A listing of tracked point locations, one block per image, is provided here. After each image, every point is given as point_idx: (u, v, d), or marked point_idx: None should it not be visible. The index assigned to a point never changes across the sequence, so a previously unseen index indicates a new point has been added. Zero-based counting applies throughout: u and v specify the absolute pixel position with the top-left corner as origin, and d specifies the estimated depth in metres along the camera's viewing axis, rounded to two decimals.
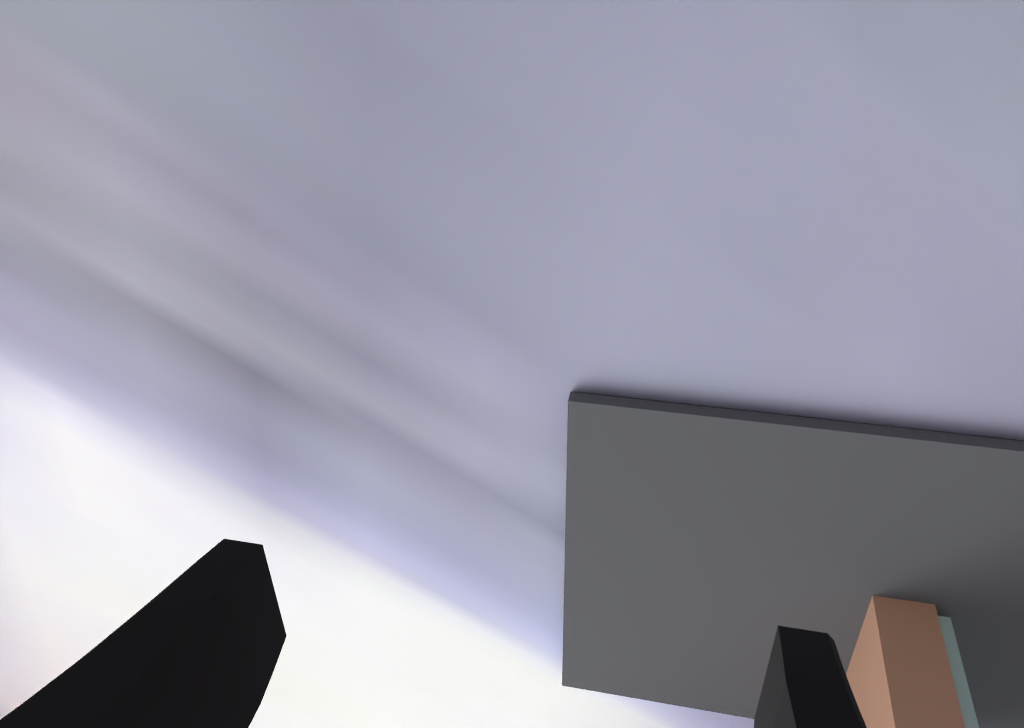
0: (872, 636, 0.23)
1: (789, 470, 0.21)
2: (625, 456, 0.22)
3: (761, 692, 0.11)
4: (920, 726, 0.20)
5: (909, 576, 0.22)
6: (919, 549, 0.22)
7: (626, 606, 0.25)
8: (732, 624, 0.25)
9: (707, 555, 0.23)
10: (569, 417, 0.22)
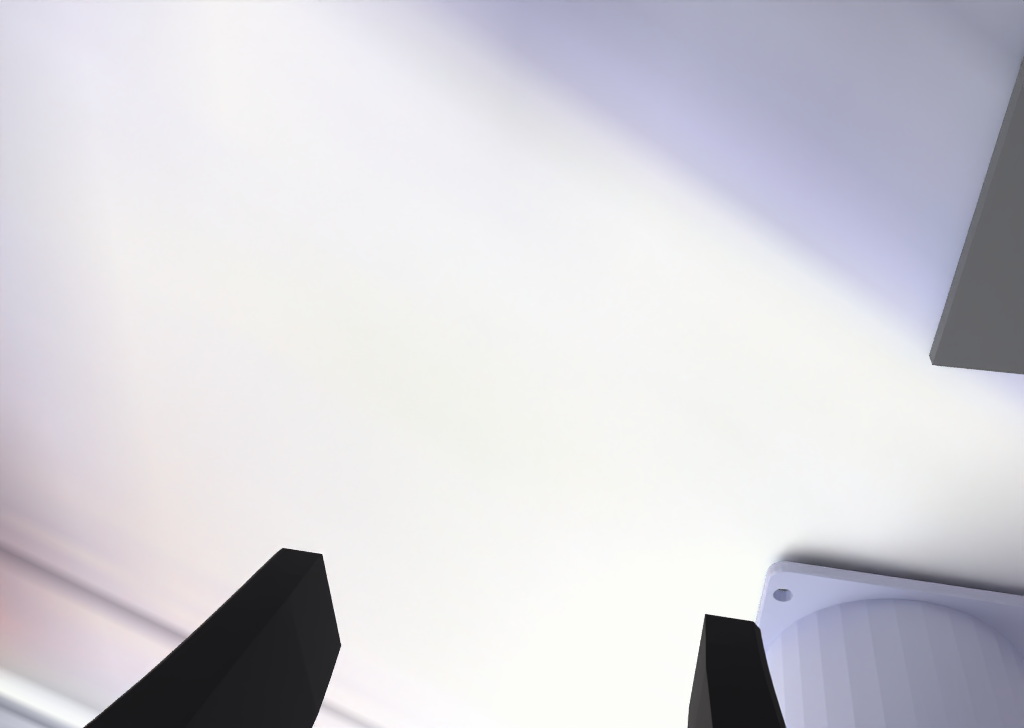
0: None
1: None
2: None
3: None
4: None
5: None
6: None
7: None
8: None
9: None
10: None
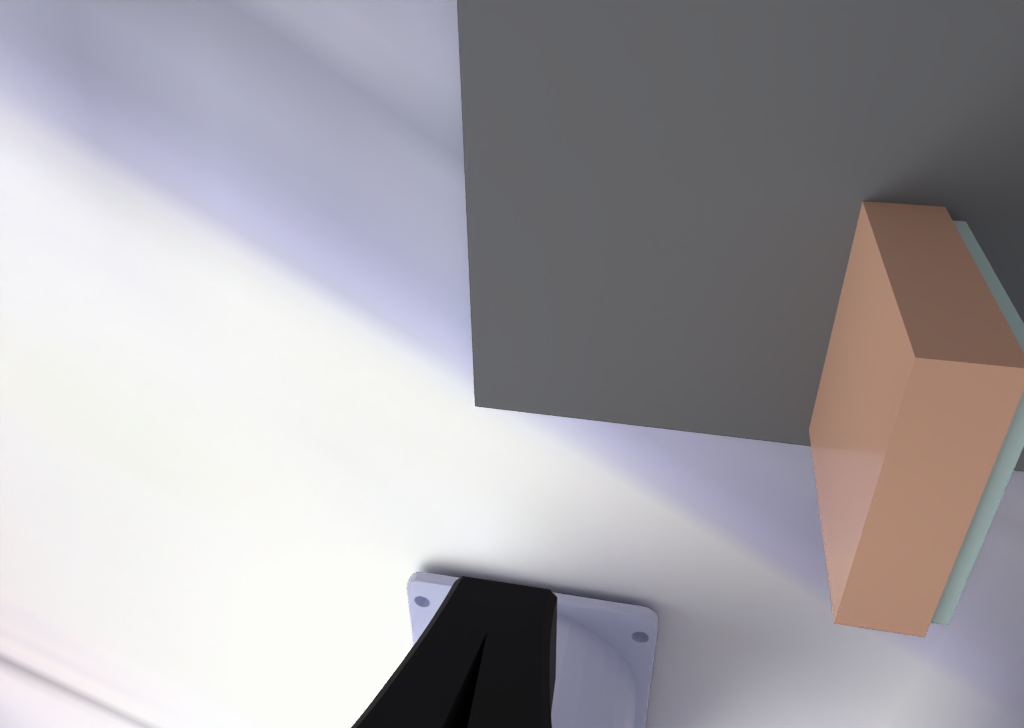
0: (862, 246, 0.17)
1: None
2: None
3: None
4: (928, 291, 0.14)
5: (911, 160, 0.17)
6: (925, 108, 0.16)
7: (547, 262, 0.20)
8: (682, 276, 0.19)
9: (646, 157, 0.18)
10: None
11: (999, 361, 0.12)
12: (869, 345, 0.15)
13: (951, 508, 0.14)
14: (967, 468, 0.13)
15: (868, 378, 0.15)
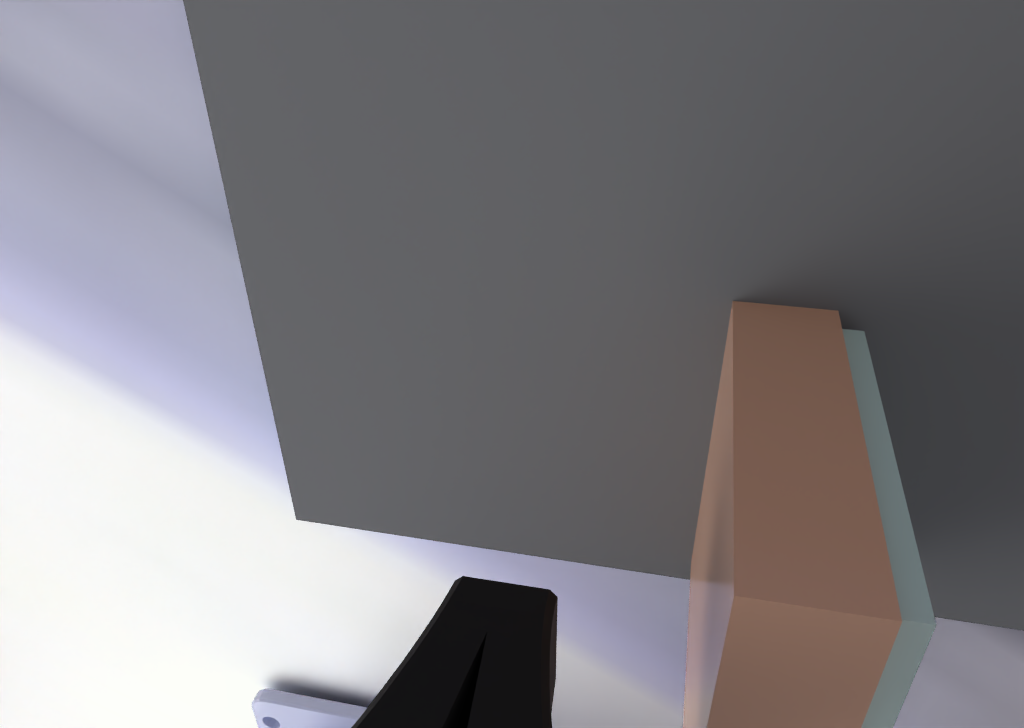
0: (727, 363, 0.13)
1: (560, 22, 0.12)
2: (283, 25, 0.12)
3: None
4: (782, 463, 0.10)
5: (791, 252, 0.13)
6: (804, 187, 0.12)
7: (354, 361, 0.16)
8: (518, 383, 0.15)
9: (456, 240, 0.14)
10: None
11: (857, 603, 0.08)
12: (718, 515, 0.11)
13: None
14: None
15: (714, 563, 0.11)
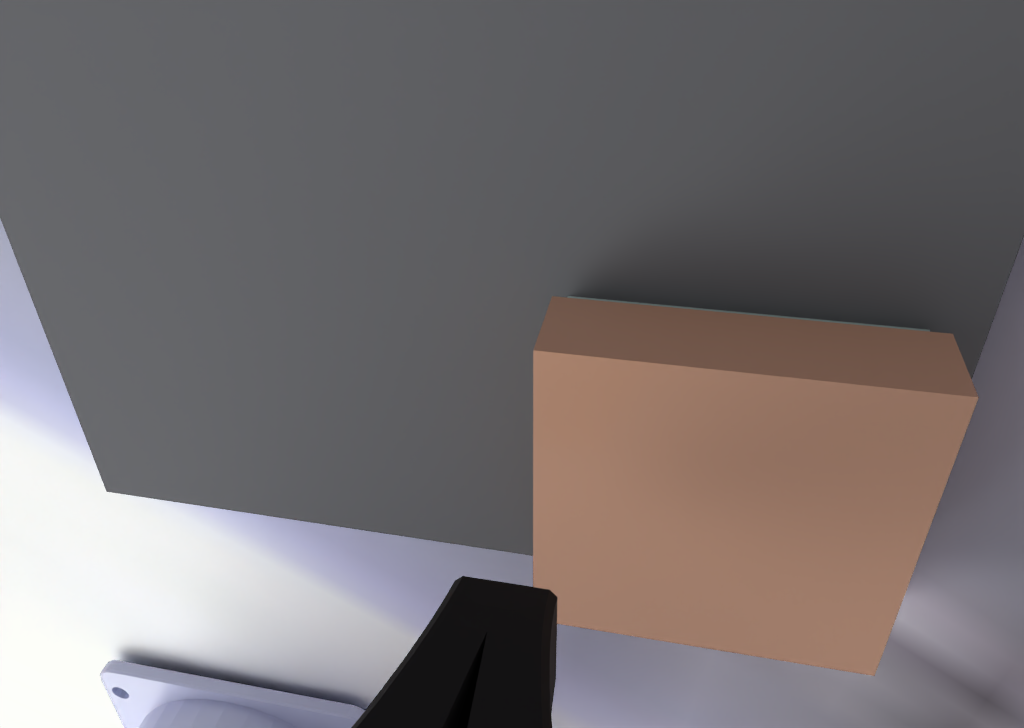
0: (594, 389, 0.12)
1: (243, 11, 0.12)
2: (4, 15, 0.13)
3: None
4: (805, 356, 0.12)
5: (486, 227, 0.13)
6: (485, 165, 0.13)
7: (128, 336, 0.16)
8: (276, 355, 0.16)
9: (194, 218, 0.15)
10: None
11: (946, 348, 0.12)
12: (758, 454, 0.12)
13: None
14: None
15: (788, 478, 0.13)
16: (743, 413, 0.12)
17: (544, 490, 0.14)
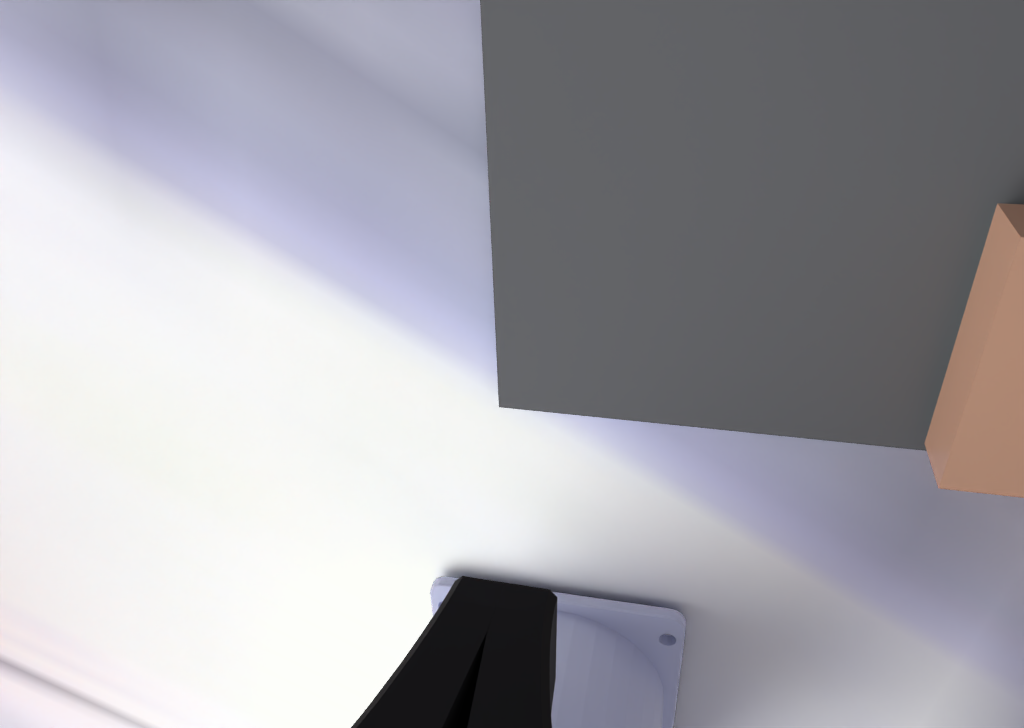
0: None
1: None
2: None
3: None
4: None
5: (942, 148, 0.17)
6: (956, 95, 0.16)
7: (571, 259, 0.20)
8: (708, 271, 0.19)
9: (671, 150, 0.18)
10: None
11: None
12: None
13: None
14: None
15: None
16: None
17: (989, 364, 0.17)
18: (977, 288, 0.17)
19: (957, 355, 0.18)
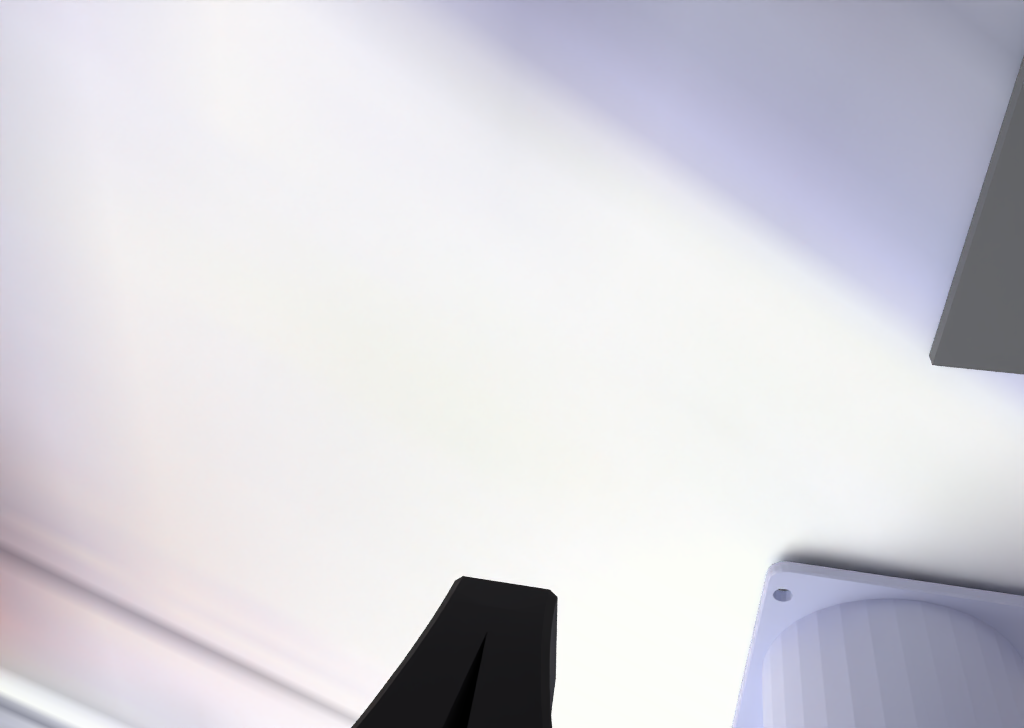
0: None
1: None
2: None
3: None
4: None
5: None
6: None
7: None
8: None
9: None
10: None
11: None
12: None
13: None
14: None
15: None
16: None
17: None
18: None
19: None
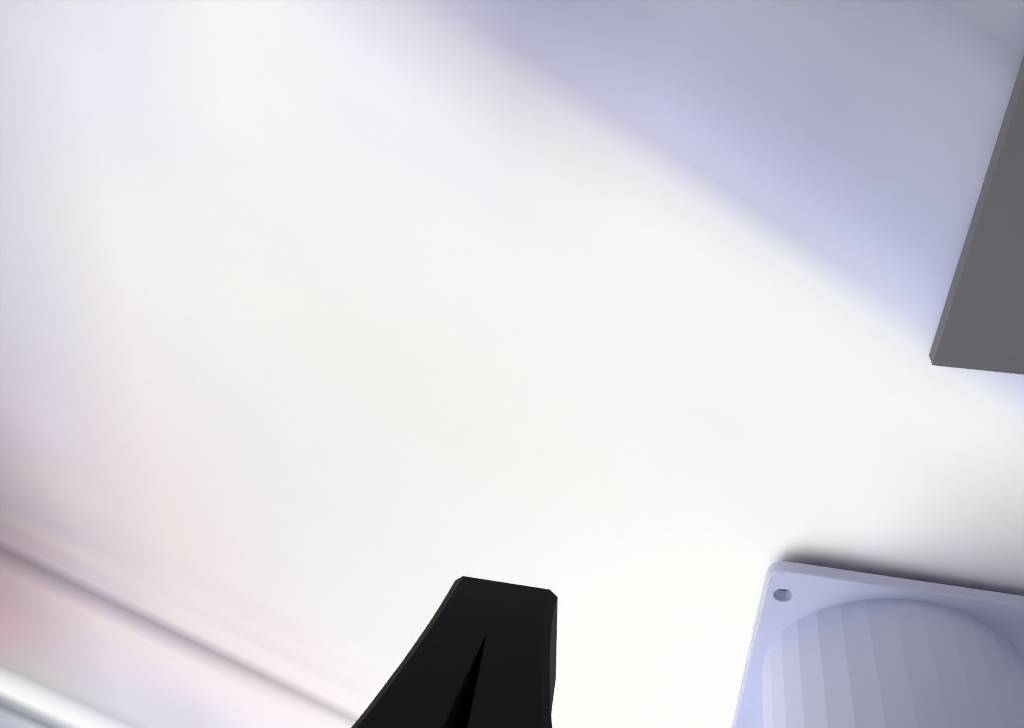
0: None
1: None
2: None
3: None
4: None
5: None
6: None
7: None
8: None
9: None
10: None
11: None
12: None
13: None
14: None
15: None
16: None
17: None
18: None
19: None
